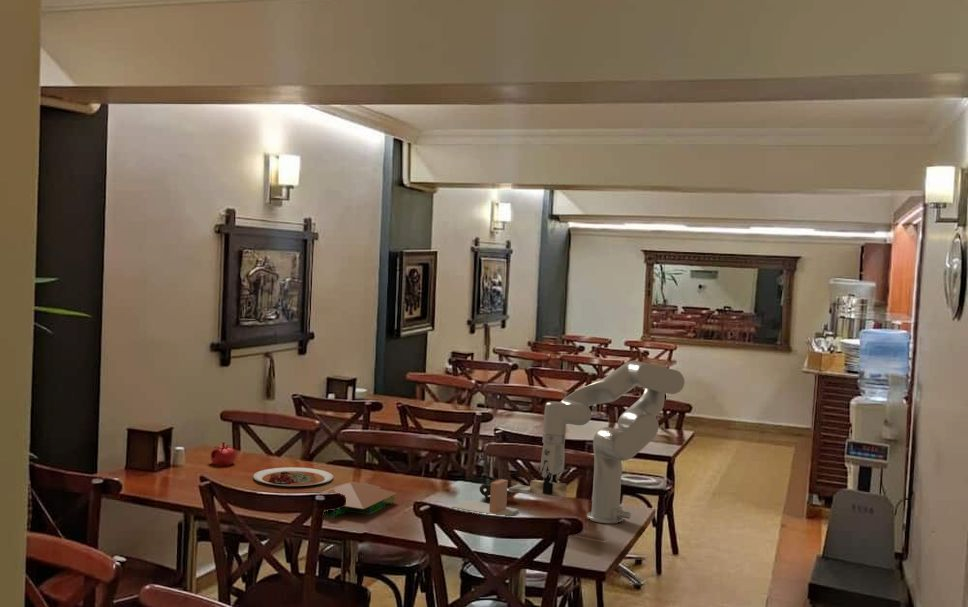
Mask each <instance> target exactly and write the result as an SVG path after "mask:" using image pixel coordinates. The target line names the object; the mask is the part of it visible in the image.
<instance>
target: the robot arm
mask: <svg viewBox="0 0 968 607" xmlns="http://www.w3.org/2000/svg"><path fill="white" fill-rule="evenodd" d="M684 386H685V378H684V375H683V374H682V373H681V372H680V371H678V370H677V369H672V368H668V367H663V366H659V365H655V364H652V363H648V362H644V361H638V360H629V361H627V362H625V363H624V364H622V365H620V366H619V367H618V368H616V369H615V370H613V371H612V372H610V373H609V374H608V375H606V376H605V377H604V378H602V379H600V380H598V381H595V382H593V383H590V384H588V385H585V386H583V387H580V388H578V389H576V390H574V391H573V392H571V393H569V395H567V396H565V397H564V398H563V399H561V401H547V402H546V403H545V406H544V417H543V429H542V441H541V442H542V443H543V445H542V451H541V459H540V472H541V477H542V479H543V480H542V481H543V482H544V483H543V494H547V495H546V496H550V495H552V489H553V483H552V482H557V483H558V480H559V475H560V473H562V472H563V471H564V470H565V459H566V458H565V457H566V456H565V455H566V452H565V445H566V444H565V442H566V430H567V425H574V426H585V425H586V424H588V423H589V422H590V421H591V419H592V411H591V409H590V407H591V406H592V407H593V406H595V405H600V404H608V403H612V402H615V401H617V400H618V399H619V398H621V397H622V396H623V395H625V394H626V393H628V392H630V391H631V390H633V389H634V388H635V387H639V388H643V389H644V390H643V394H642V395H641V396H640V398H639V399H637V401H635V402H633V403H632V405H631V406H629V407H628V408H627V409H626V410H625V411H624V412H623V413H622V414H620V416H619V418H618V420H617V426H618V429H616V428H614V427H611V426H610V427H609V426H608V427H607V426H606V427H605V426H604V427H602V428H601V427H600V429H598V430H597V431H596V432H595V434H594V436H593V440H592V449H593V455H594V456H593V457H594V458H593V459H594V463H593V464H594V465H593V482H592V484H593V485H592V500H591V511H589V512H587V513H586V518H587V519H588V520H589V519H590V520H589V521H592V522H595V523H601V524H619V523H618V522H620V523H622V522H623V521H624V519H627V520H631V517H632V515H631V512H630V511H625V510H623V506H620V505H621V492H622V490H621V489H622V488H621V487H622V474H623V464H622V461H623V462H624V461H628V460H630V459H632V458H634V457H635V456H636V455H637V454H639V453H640V452H641V451H642V450H643V449H644V448H645V447H646V446H647V445H648V444H650V443H651V442H652V441H653V440H654V439H655V438H656V436H657V434H658V432H659V429H660V428H659V427H660V426H659V421H658V419H657V417H658V416H659V415H660V413H661V412H662V410H663V408H664V405H665V395H666V394H668V395H676V394H679V393H680V392H681V391H682V390H683V389H684ZM621 521H622V522H621Z"/></svg>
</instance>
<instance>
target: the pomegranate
mask: <svg viewBox="0 0 968 607" xmlns="http://www.w3.org/2000/svg"><path fill="white" fill-rule="evenodd" d="M233 447H234V446H232V444H228V445H226V442H225V441H223V442H222V445H220V444H218V445H217V446H215V447H214V449H213V450H212V451H211V453H210V460H211V462H212V464H213V465H214V466H218V467H228V466H231V465H233V464H234V463H235V461H236V458H237V453H236V450H235V449H234V448H233Z"/></svg>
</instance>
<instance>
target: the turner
mask: <svg viewBox="0 0 968 607" xmlns="http://www.w3.org/2000/svg"><path fill="white" fill-rule="evenodd" d="M543 483H544V482H543V480H539V479H532V480H530V483H529V485H522V484H516V485H514V486H511V487H510V488H509V489H508V491H509V492H511V493H517V494H526V495H528V494H536V495H541V496H542V495H544V496H548V495H547V494H543ZM552 483H553V489H552V495H549V496H550V497H558V498H564V497H566V496H567V489H568V488H567V487H568V486H567V485H568V484H567V483H565V482H563V483H562V482H558V481H557V482H552Z"/></svg>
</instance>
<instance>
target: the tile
mask: <svg viewBox="0 0 968 607" xmlns="http://www.w3.org/2000/svg"><path fill="white" fill-rule="evenodd" d="M499 479H500V478H499ZM494 481H495V480H494ZM494 481H492V482H490V483H491V491H490V495H489V504H490V509H489V512H492V513H498V512H500V511H502V510H504V509H506V507H507V502H508V499H507V491H508V483H509V480H508V479H500V480H498V481H495V482H494Z"/></svg>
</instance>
